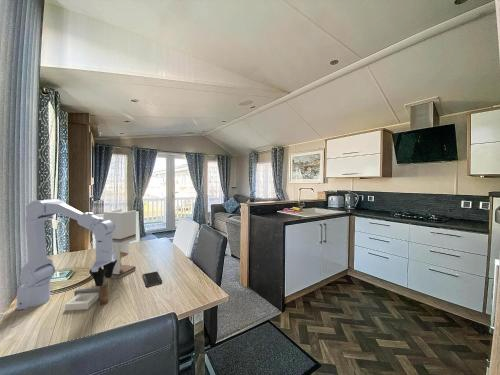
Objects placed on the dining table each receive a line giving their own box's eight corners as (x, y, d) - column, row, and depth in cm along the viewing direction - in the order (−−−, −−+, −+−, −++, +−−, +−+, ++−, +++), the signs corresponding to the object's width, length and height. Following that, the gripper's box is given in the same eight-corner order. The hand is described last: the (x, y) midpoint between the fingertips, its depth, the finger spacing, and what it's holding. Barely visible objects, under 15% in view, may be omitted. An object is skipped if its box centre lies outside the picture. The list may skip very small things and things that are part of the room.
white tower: (119, 278, 113) (120, 213, 112) (103, 276, 115) (103, 212, 114) (135, 269, 124) (136, 210, 123) (120, 267, 126) (120, 209, 125)
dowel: (98, 307, 88) (98, 288, 87) (101, 303, 91) (101, 284, 90) (106, 306, 88) (106, 287, 88) (109, 302, 91) (109, 284, 91)
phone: (146, 285, 105) (142, 274, 117) (146, 288, 105) (142, 276, 117) (162, 281, 109) (157, 271, 122) (162, 284, 109) (157, 273, 122)
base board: (45, 326, 76) (45, 313, 76) (76, 299, 93) (76, 289, 92) (80, 323, 78) (80, 311, 77) (104, 298, 94) (104, 288, 94)
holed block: (65, 310, 83) (65, 304, 83) (78, 299, 91) (78, 293, 91) (87, 309, 85) (87, 303, 85) (98, 298, 93) (98, 292, 93)
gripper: (105, 255, 82) (105, 290, 82) (122, 244, 96) (121, 273, 97) (85, 256, 81) (85, 291, 81) (105, 244, 95) (105, 274, 96)
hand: (104, 281), depth 89 cm, fingers open, 7 cm apart
